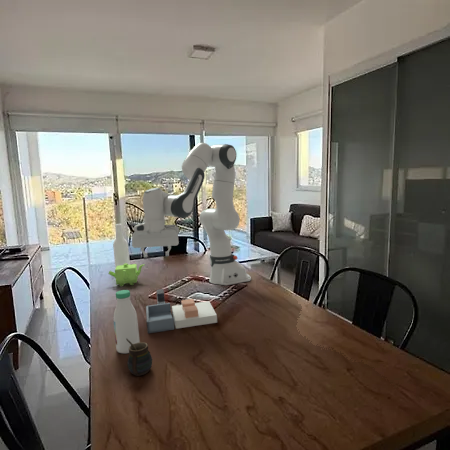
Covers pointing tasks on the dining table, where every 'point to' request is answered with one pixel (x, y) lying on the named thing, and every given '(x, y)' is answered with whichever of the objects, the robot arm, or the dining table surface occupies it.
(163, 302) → the two-tone stepped block
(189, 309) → the tile front
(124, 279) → the kettle
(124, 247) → the alcohol
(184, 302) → the tile back
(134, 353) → the mate gourd
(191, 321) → the board
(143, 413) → the dining table surface
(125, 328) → the milk bottle
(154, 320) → the tray
